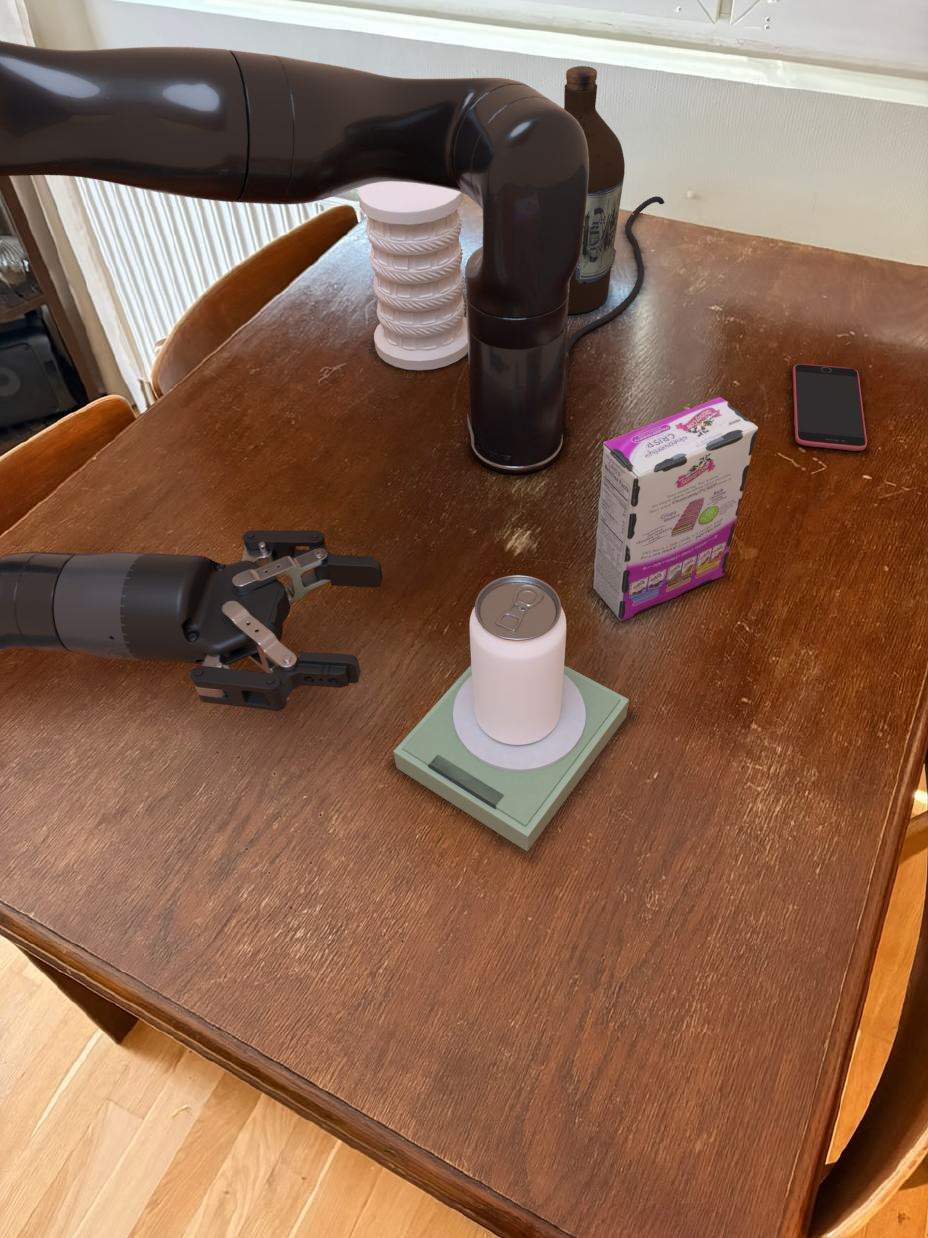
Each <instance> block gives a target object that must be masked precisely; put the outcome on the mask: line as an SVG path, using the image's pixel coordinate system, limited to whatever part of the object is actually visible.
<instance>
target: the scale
mask: <svg viewBox="0 0 928 1238" xmlns="http://www.w3.org/2000/svg"><path fill="white" fill-rule="evenodd" d="M629 702H630V699H629V698H627V697H625V696H624V695H622V694H620V693H618V692H616V691H614V690H612V689H610V688H608V687H607V686H604V685H603V684H601V683H599V682H597V681H596V680H593V679H592V678H590V677H587V676H585V675H583V674H582V673H580V672H578V671H576V670H574V669H572V668H570V667H569V666H567V665H566V664H564V674H563V687H562V700H561V711H560V717H559V720H558V723H557V725H556V726H555V728H554V729H553V730H552V731H551V732H550V733H549V734H548V735H547V736H546V737H544V738H543V739H541V740H539V741H536V742H534V743H530V744H525V745H510V744H505V743H502V742H499V741H497V740H495V739H493V738H491V737H490V736H488V735H487V734H486V733H485V732H484V731H483V730H482V729H481V727H480V726H479V724H478V722H477V720H476V717H475V712H474V700H473V685H472V668H471V664H470V665H469V666H468V667H467V669H466V670H464V671H463V673H462V674H461V675H460V676H459V678H458V679H456V681H455V682H454V683H453V684H452V685H451V686H450V688H448V689H447V690H446V692H444V694H443V695H442V696H441V697H440V698H439V700H438V701H437V702H436V703H435V704H434V705H433V706H432V707H431V709H429V711H428V712H427V713H426V714H425V715H424V716H423V717H422V719H420V721H419V722H418V723H417V724H416V725H415V726H414V727H413V729H412V730H410V732H409V733H408V734H407V735H406V736H405V737H404V738H403V740H402V741H401V742H400V743H399V744H398V745H397V746H396V747H395V749H394V750H393V751H392V752H393V757H394V763H395V767H396V769H397V770H398V771H401V772H402V773H403V774H405V775H407V776H408V777H410V778H411V779H413V780H414V781H416V782H417V783H419V784H420V785H422V786H424V787H425V788H427V789H429V790H430V791H431V792H433V793H435V794H436V795H438V796H440V797H441V798H443V799H444V800H446V801H447V802H449V803H450V804H452V805H454V806H455V807H456V808H458V809H460V810H461V811H463V812H465V813H466V814H467V815H469V816H471V817H472V818H474V819H475V820H477V821H479V822H480V823H481V824H483V825H485V826H486V827H488V828H489V829H491V830H493V831H494V832H496V833H497V834H498V835H500V836H502V837H503V838H505V839H507V840H508V841H509V842H511V843H513V844H514V845H516V846H518V847H519V848H521V849H522V850H524V851H525V852H529V851H530V849H531V848H532V846H533V845H534V844H535V842H536V841H537V839H538V838H539V837H540V835H541V834H542V833H543V831H544V830H545V828H546V827H547V826H548V825H549V823H550V822H551V821H552V819H553V818H554V817H555V815H556V814H557V813H558V811H559V809H561V807H562V805H563V804H564V803H565V801H566V800H567V798H569V796H570V795H571V793H572V792H573V791H574V789H575V788H576V786H577V785H578V783H580V781H581V780H582V778H583V777H584V775H586V773H587V772H588V770H589V769H590V767H591V766H592V764H593V763H594V762H595V761H596V760H597V758H598V757H599V755H600V753H601V752H602V751H603V749H604V748H605V747H606V745H607V744H608V743H609V742H610V740H611V739H612V737H613V736H614V735H615V733H616V732H617V730H618V729H619V728H620V726H621V725H622V724H623V722H624V721H625V719H626V718H627V714H628V709H629Z"/></svg>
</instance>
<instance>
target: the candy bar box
mask: <svg viewBox="0 0 928 1238" xmlns="http://www.w3.org/2000/svg"><path fill="white" fill-rule="evenodd" d="M758 430H759V427H758V426H757V425H756V424H755V423H754V422H752V421H751V420H750V419H749V418H747V417H745V416H744V415H743V414H742V413H741V412H740V411H738V410H737V409H736V408H734V407H732V406H731V404H730V402H728V401H727V400H726V399H724V398H722V397H721V396H718V397H716V398H713V399H710V400H708V401H706V402H703V403H701V404H697V405H695V406H693V407H690V408H688V409H685V410H682V411H681V412H677V413H676V414H673V415H670V416H668V417H665V418H662V419H660V420H657V421H655V422H652V423H649V424H647V425H645V426H642V427H639V428H637V429H634V430H631V431H629V432H626V433H624V434H622V435H621V434H620V435H618V436H616V437H613V438H611V439H608V440H606V441H603V442H602V453H601V465H600V467H601V468H600V480H599V481H600V482H599V494H598V511H597V520H596V521H597V522H596V536H595V537H596V539H595V550H594V562H593V574H592V575H593V576H592V590H594V592H595V593H596V594H597V596H598V597H599V598H600V599H601V600H602V601H603V602H604V604H606V605H607V607H608V608H609V610H610V611H611V612H612V614H614V616H615V617H616V618H617V619H618V620H619V621H620V622H624V621H626V620H628V619H629V620H630V619H631V618H633V617H636V616H638V615H639V614H642V613H644V612H646V611H649V610H650V609H652V608H656V607H657V606H659V605H662V604H664V603H666V602H668V601H670V600H672V599H675V598H676V597H679V596H681V595H683V594H686V593H688V592H690V591H692V590H694V589H697V588H699V587H701V586H703V585H706V584H708V583H710V582H712V581H715V580H717V579H719V578H721V577H723V576H724V575H725V569H726V566H727V562H728V557H729V552H730V549H731V545H732V540H733V535H734V531H735V527H736V522H737V521H738V516H739V515H738V514H739V510H740V504H741V500H742V497H743V493H744V489H745V485H746V484H745V483H746V482H747V481H746V480H747V477H748V471H749V467H750V463H751V459H752V455H753V450H754V445H755V442H756V437H757V433H758Z"/></svg>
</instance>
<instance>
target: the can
mask: <svg viewBox="0 0 928 1238" xmlns="http://www.w3.org/2000/svg"><path fill="white" fill-rule="evenodd" d="M474 602H475V603H474V606H473V608H472V611H471V613H470V618H469V649H470V665H471V668H472V685H473V700H474V712H475V717H476V720H477V722H478V724H479V726H480V727H481V729H482V730H483V731H484V732H485V733H486V734H487V735H488V736H490V737H491V738H493V739H495V740H497V741H499V742H502V743H505V744H510V745H525V744H530V743H534V742H536V741H539V740H541V739H543V738H544V737H546V736H547V735H548V734H549V733H550V732H551V731H552V730H553V729H554V728H555V726H556V725H557V723H558V720H559V717H560V711H561V700H562V687H563V674H564V665H565V657H566V643H567V618H566V617H567V616H566V614H565V611H564V609H563V606H562V603H561V599H560V596H559V595H558V592H556V590H555V589H554V588H553V586H551V585H550V584H548V582H545V581H544V580H542V579H540V578H537V577H534V576H530V575H524V574H511V575H506V576H501V577H499V578H496V579H494V580H492V581H490V582H489V583H488V584H486V585H485V586H484V587H483V588H482V589H481V590H480V592H479V593H478V595H477V596H476V599H475V601H474Z"/></svg>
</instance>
